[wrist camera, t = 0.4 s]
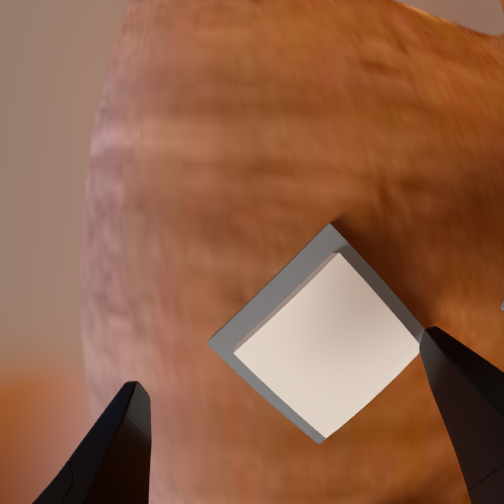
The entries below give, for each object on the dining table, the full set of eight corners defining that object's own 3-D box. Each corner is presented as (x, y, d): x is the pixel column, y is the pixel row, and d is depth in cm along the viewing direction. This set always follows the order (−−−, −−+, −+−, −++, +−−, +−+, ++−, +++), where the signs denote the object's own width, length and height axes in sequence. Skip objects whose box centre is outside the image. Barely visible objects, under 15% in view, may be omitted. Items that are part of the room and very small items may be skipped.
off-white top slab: (408, 340, 21) (422, 348, 19) (320, 422, 21) (326, 438, 19) (331, 253, 22) (339, 252, 19) (236, 343, 22) (233, 353, 19)
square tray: (418, 331, 24) (431, 337, 21) (314, 429, 24) (318, 444, 21) (323, 226, 24) (329, 222, 22) (212, 335, 24) (206, 343, 22)
